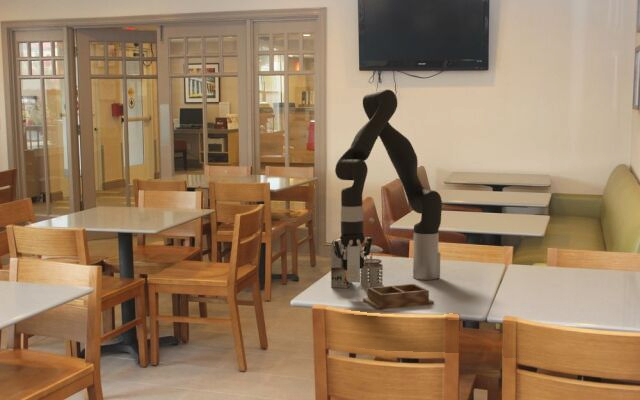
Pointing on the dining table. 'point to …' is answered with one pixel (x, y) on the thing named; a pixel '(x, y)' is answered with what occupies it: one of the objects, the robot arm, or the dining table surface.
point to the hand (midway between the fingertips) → (352, 268)
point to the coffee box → (337, 270)
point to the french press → (371, 269)
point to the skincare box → (353, 264)
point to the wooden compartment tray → (397, 296)
